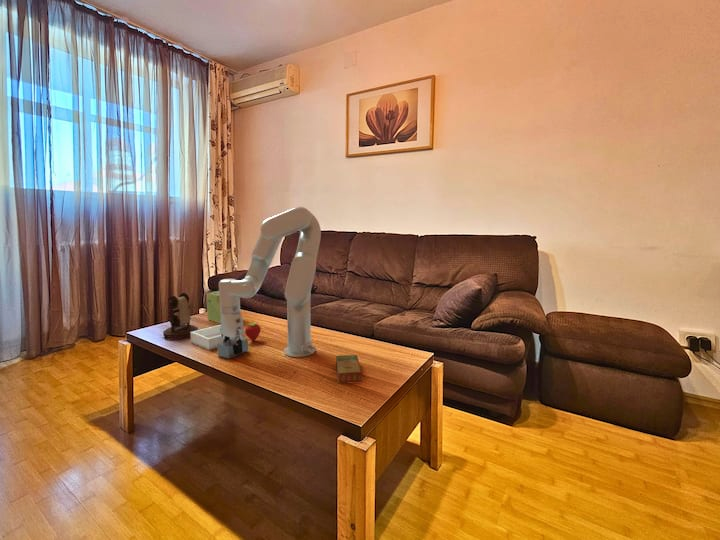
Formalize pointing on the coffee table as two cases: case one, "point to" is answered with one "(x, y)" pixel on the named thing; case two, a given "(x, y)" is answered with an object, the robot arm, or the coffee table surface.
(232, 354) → the block
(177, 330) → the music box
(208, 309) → the protein box
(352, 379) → the carton
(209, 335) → the tote
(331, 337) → the coffee table surface
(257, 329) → the strawberry
